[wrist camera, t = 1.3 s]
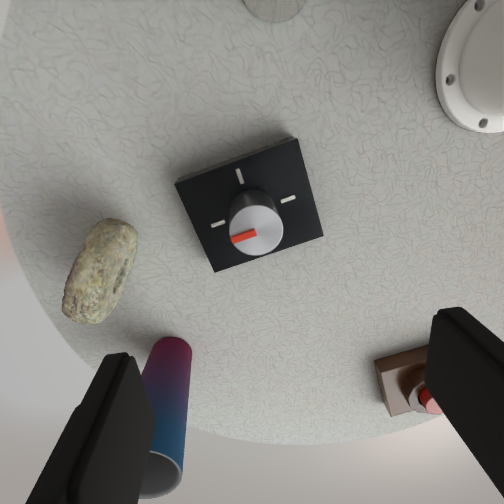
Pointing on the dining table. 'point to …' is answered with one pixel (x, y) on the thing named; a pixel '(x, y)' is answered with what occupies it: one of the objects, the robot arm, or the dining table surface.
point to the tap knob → (254, 223)
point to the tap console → (244, 178)
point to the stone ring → (100, 272)
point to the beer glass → (275, 9)
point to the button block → (402, 380)
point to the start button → (429, 402)
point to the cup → (167, 414)
